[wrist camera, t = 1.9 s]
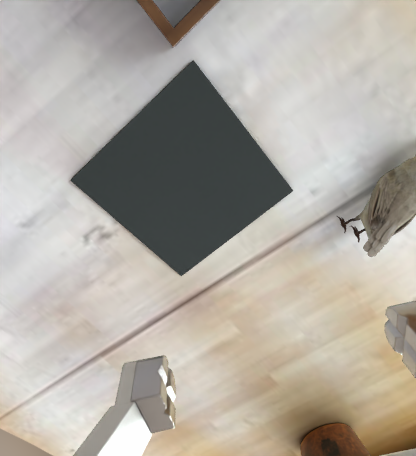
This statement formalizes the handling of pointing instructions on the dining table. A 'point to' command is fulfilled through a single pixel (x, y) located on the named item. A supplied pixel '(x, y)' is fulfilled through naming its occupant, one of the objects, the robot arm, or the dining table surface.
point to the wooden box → (184, 25)
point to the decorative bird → (388, 207)
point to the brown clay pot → (333, 442)
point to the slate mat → (183, 173)
